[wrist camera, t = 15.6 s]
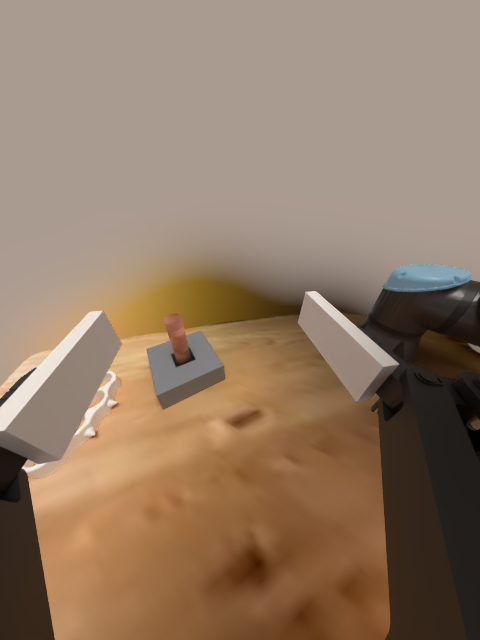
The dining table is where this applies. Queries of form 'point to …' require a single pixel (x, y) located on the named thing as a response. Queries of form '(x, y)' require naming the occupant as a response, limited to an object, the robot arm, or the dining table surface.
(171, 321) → the dowel
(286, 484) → the dining table surface
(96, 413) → the knuckle duster
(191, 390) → the socket block
